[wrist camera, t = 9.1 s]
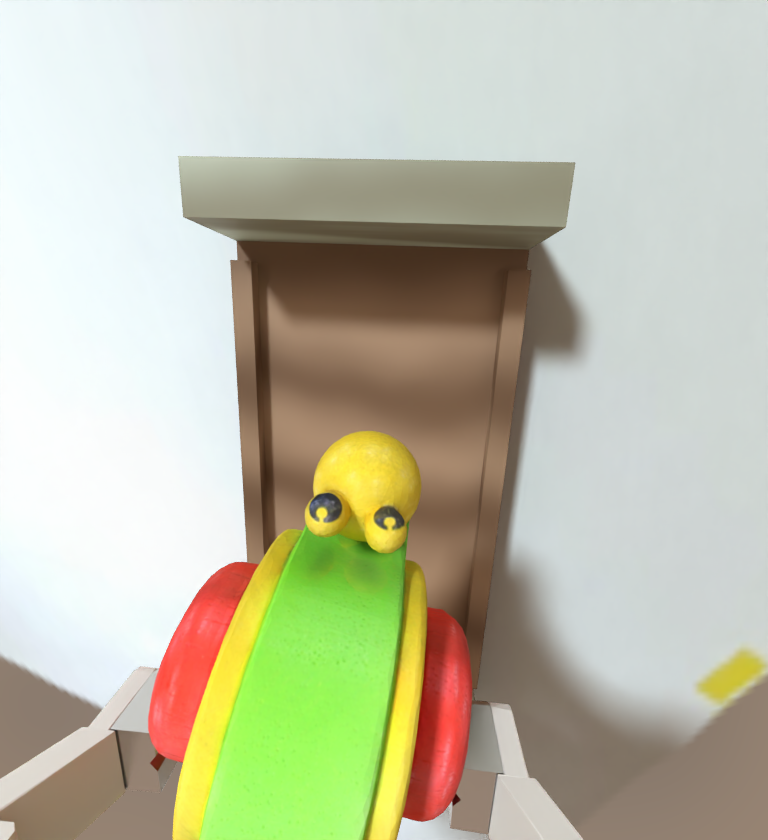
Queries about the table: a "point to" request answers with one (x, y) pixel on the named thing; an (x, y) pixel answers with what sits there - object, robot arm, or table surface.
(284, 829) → the toy measuring tape
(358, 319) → the wooden tray
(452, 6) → the table surface
